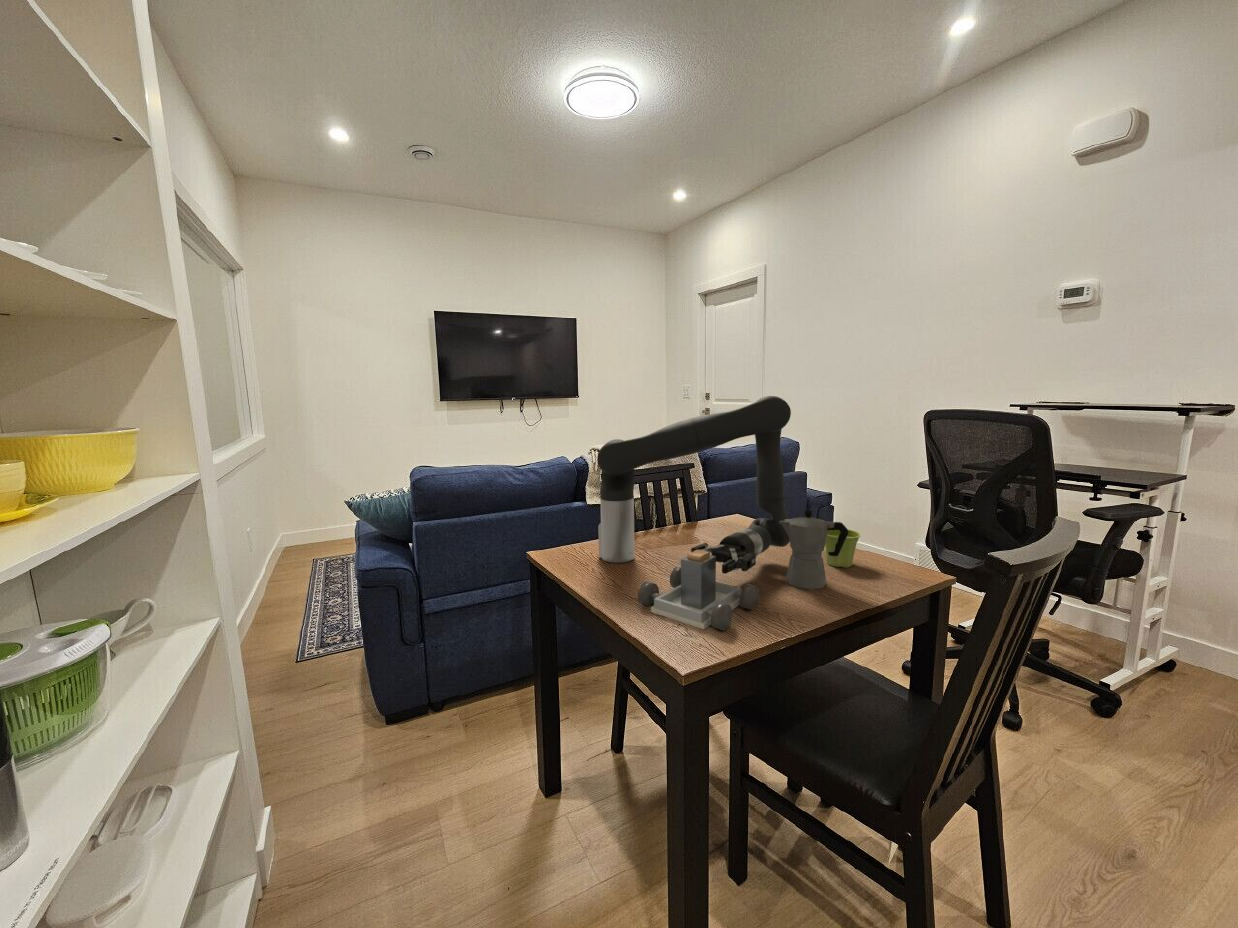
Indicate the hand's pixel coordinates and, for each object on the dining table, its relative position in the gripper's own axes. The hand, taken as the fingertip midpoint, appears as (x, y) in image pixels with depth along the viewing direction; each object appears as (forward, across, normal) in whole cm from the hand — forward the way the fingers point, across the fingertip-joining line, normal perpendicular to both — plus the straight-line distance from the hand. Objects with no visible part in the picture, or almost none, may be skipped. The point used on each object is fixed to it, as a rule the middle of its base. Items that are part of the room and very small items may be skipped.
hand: (706, 564), depth 113 cm
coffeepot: (-25, +14, +9) cm, 30 cm away
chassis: (+3, 0, +8) cm, 9 cm away
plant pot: (-43, +15, +9) cm, 46 cm away
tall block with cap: (+3, 0, +8) cm, 8 cm away
